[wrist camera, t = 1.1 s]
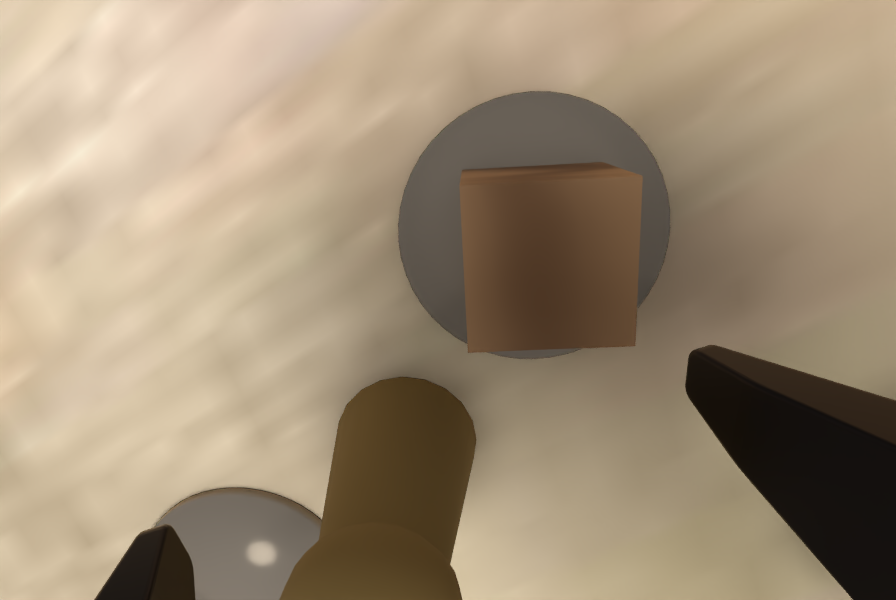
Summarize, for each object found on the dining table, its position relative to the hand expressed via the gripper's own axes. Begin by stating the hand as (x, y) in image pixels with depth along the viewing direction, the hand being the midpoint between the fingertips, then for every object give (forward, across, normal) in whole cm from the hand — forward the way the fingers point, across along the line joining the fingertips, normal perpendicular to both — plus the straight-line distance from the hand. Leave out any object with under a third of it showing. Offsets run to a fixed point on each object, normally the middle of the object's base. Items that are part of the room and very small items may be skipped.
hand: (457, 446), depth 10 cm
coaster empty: (+13, +8, +17) cm, 23 cm away
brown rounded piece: (+12, 0, +11) cm, 16 cm away
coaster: (+12, -7, +2) cm, 14 cm away
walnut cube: (+11, -6, +2) cm, 13 cm away
